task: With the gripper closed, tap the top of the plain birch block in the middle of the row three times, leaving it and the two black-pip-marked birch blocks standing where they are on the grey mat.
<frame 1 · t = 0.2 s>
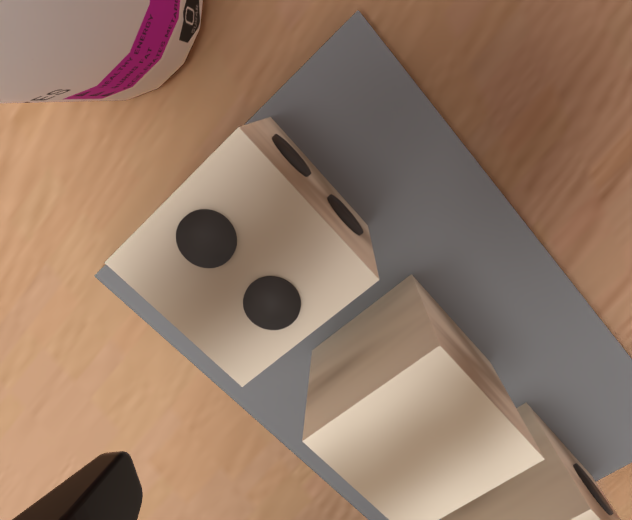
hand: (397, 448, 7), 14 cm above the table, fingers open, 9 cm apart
grey mat: (398, 347, 22), on the table
plain block: (400, 356, 21), point 1 cm above the table, touching grey mat
two-pip block: (269, 219, 19), point 1 cm above the table, touching grey mat
one-pip block: (508, 469, 23), point 1 cm above the table, touching grey mat
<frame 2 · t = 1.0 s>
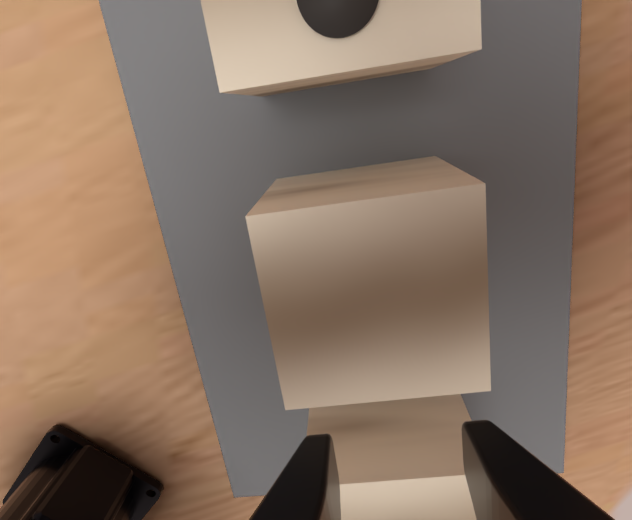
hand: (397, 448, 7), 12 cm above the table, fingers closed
grey mat: (362, 237, 18), on the table
plain block: (363, 243, 18), point 1 cm above the table, touching grey mat
one-pip block: (385, 427, 21), point 1 cm above the table, touching grey mat
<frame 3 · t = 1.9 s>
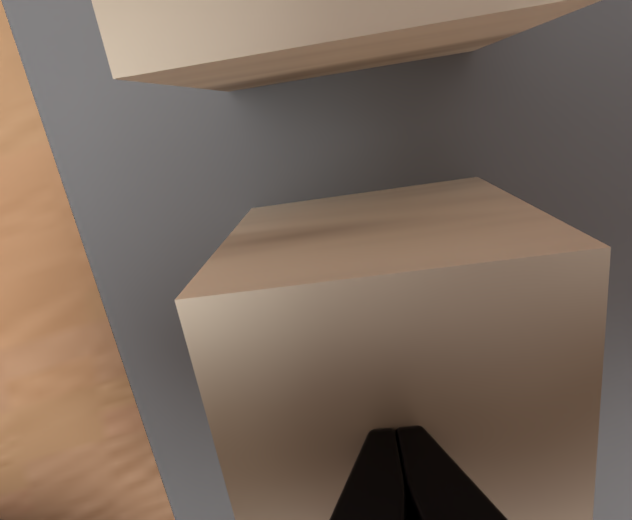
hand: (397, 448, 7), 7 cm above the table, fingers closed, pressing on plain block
grey mat: (371, 285, 14), on the table
plain block: (373, 295, 13), point 1 cm above the table, touching grey mat, gripper
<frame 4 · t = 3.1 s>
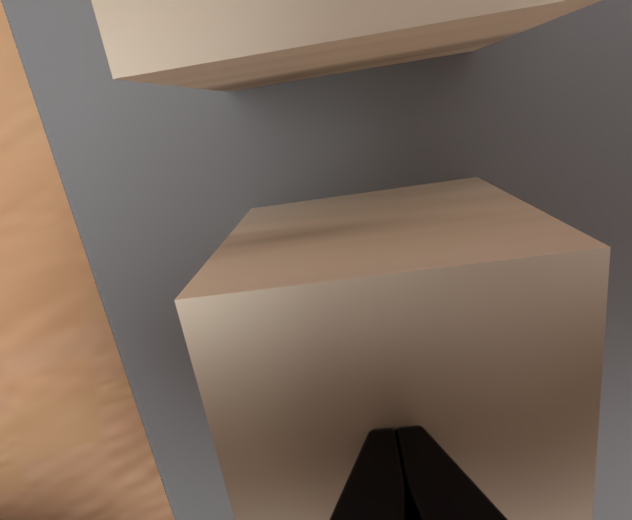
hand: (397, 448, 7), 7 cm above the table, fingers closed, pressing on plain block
grey mat: (371, 285, 14), on the table
plain block: (373, 295, 13), point 1 cm above the table, touching grey mat, gripper
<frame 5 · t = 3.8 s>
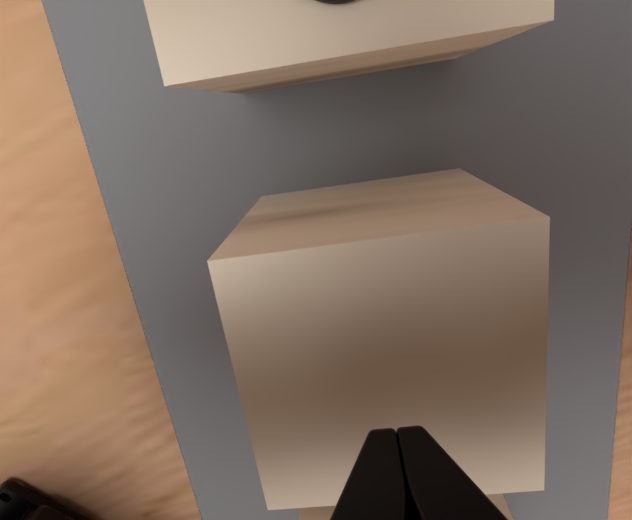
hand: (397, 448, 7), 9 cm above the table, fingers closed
grey mat: (367, 265, 15), on the table
plain block: (369, 274, 14), point 1 cm above the table, touching grey mat
one-pip block: (394, 488, 17), point 1 cm above the table, touching grey mat
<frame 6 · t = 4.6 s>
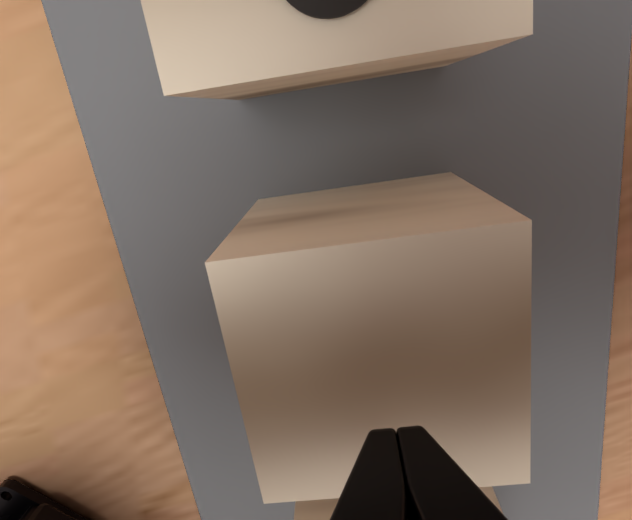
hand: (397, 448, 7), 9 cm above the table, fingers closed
grey mat: (362, 267, 16), on the table
plain block: (363, 275, 15), point 1 cm above the table, touching grey mat
one-pip block: (389, 485, 18), point 1 cm above the table, touching grey mat
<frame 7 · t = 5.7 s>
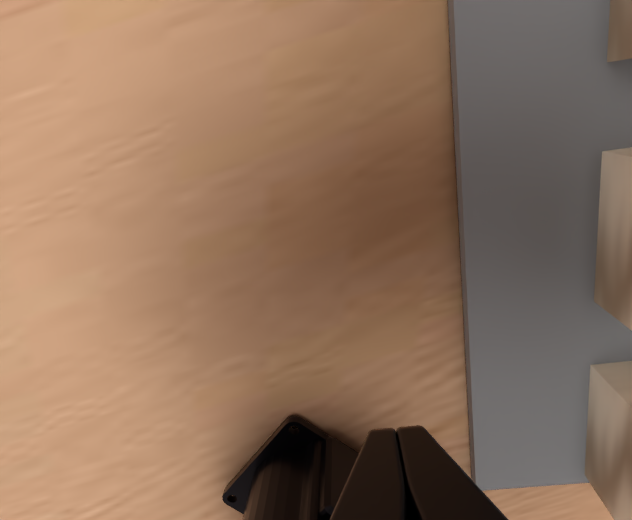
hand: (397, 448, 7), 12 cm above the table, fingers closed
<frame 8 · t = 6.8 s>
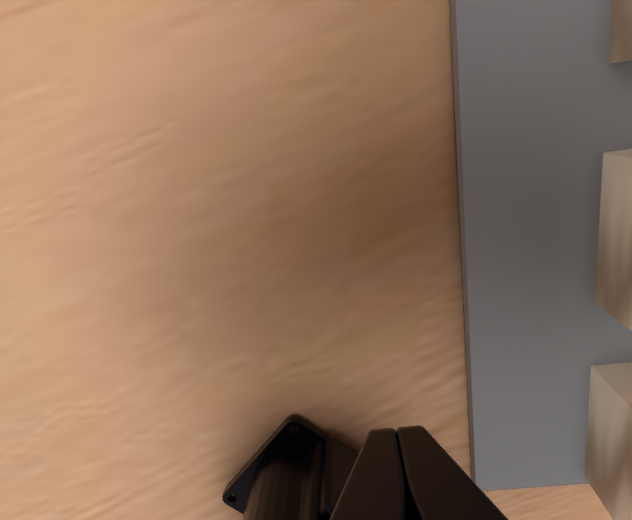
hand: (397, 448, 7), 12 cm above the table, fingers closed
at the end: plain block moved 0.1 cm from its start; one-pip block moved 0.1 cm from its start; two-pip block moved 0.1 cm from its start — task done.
